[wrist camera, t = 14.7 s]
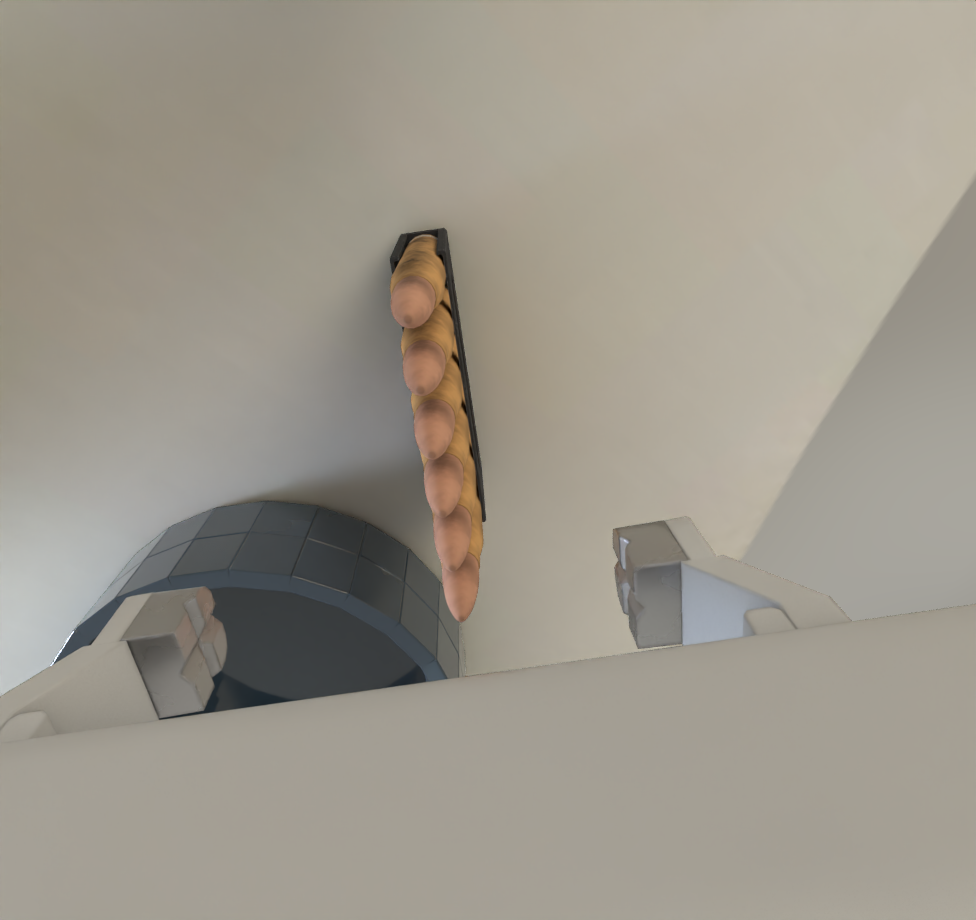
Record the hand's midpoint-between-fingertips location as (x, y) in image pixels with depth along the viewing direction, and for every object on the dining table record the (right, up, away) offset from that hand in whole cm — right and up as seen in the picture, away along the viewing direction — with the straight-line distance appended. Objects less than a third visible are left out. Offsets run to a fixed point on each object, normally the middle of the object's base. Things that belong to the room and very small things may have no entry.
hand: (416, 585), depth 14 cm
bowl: (-9, -7, +21) cm, 24 cm away
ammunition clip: (0, +7, +15) cm, 17 cm away
